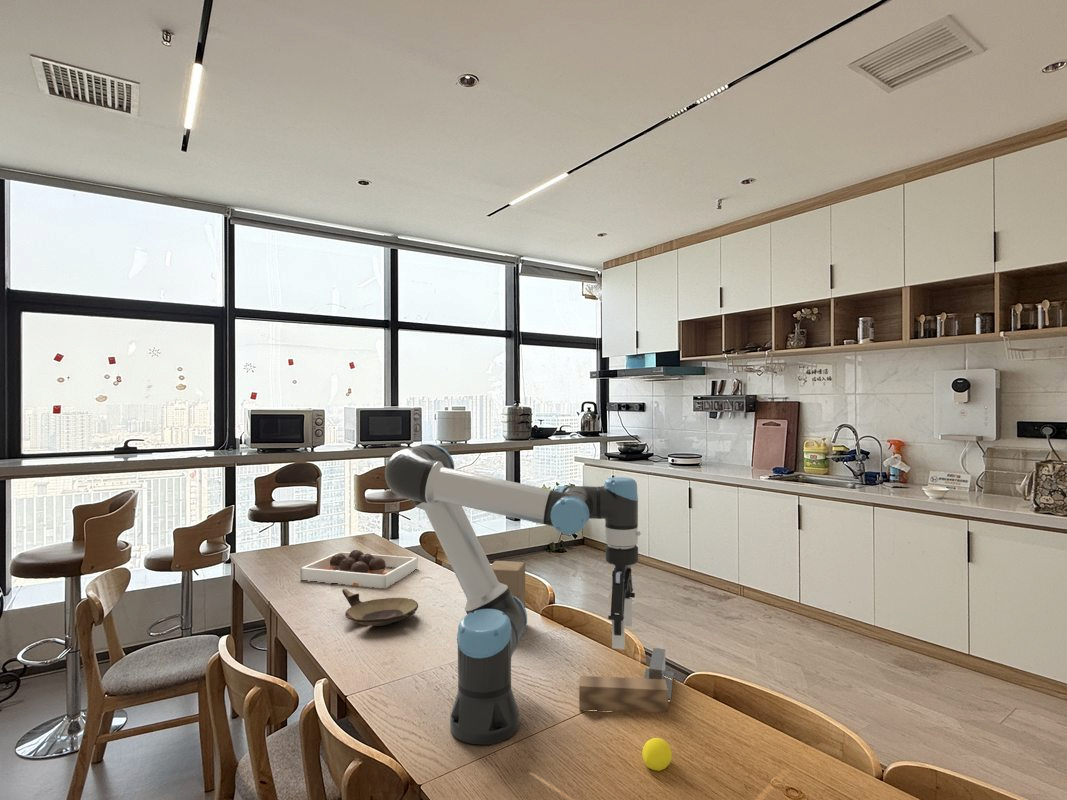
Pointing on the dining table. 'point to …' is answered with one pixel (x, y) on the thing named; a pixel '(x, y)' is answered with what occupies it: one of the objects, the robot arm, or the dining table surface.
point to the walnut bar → (622, 694)
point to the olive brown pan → (378, 609)
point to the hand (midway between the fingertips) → (622, 636)
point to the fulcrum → (659, 669)
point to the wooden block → (511, 577)
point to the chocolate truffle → (358, 563)
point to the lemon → (657, 754)
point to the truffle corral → (363, 579)
